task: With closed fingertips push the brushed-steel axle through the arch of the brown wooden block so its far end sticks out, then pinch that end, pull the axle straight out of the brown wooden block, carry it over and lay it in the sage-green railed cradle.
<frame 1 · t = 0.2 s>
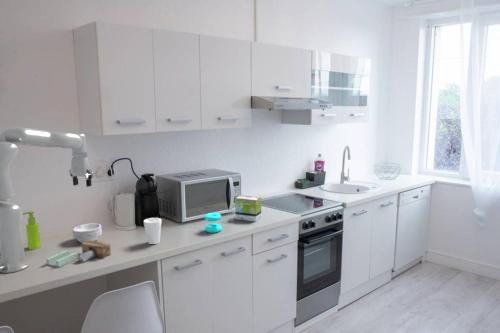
hand: (82, 185, 224), 31 cm above the worktop, fingers open, 9 cm apart
axle: (92, 257, 201), on the worktop
soap dispenser: (33, 248, 215), on the worktop
donuts: (213, 231, 239), on the worktop
cradle: (63, 261, 195), on the worktop
brown wooden block: (96, 254, 203), on the worktop
foam cup: (153, 243, 219), on the worktop
tea box: (248, 219, 262), on the worktop
paper bowls: (88, 240, 225), on the worktop
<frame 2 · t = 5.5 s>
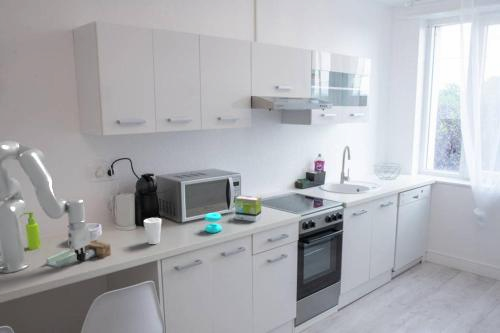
hand: (80, 260, 194), 1 cm above the worktop, fingers closed
axle: (94, 255, 202), on the worktop, touching gripper
everything else where it was.
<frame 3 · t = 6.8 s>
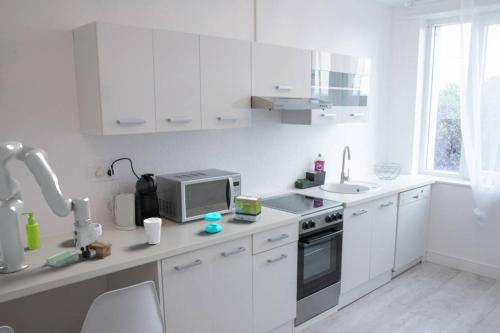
hand: (86, 257, 197), 1 cm above the worktop, fingers closed
axle: (99, 253, 205), on the worktop
everything else where it was.
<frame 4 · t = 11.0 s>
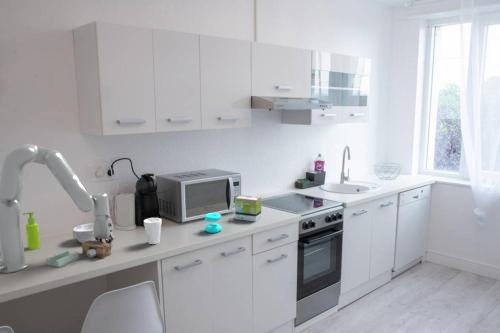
hand: (104, 250, 208), 0 cm above the worktop, fingers closed on axle, 4 cm apart
axle: (99, 253, 206), on the worktop, tilted 8°, touching gripper
everything else where it was.
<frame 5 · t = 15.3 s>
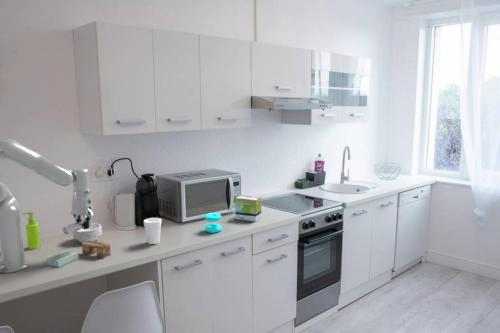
hand: (82, 227, 202), 14 cm above the worktop, fingers closed on axle, 4 cm apart
axle: (77, 230, 198), point 14 cm above the worktop, tilted 10°, touching gripper
everything else where it was.
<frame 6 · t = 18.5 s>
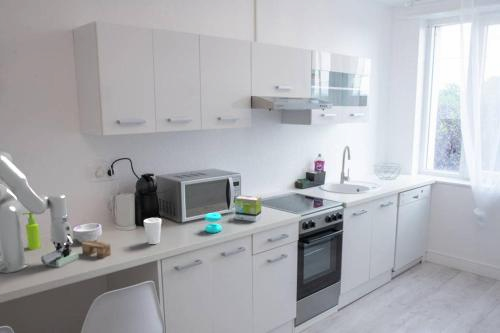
hand: (63, 255, 195), 3 cm above the worktop, fingers closed on axle, cradle, 4 cm apart
axle: (56, 258, 192), point 3 cm above the worktop, tilted 8°, touching gripper
everything else where it was.
when the fingers open (3 cm above the worktop, at t = 19.6 s): axle drops 2 cm, resting on cradle.
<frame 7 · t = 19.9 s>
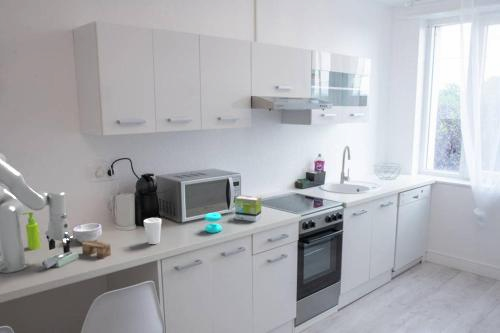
hand: (59, 250, 194), 6 cm above the worktop, fingers open, 9 cm apart
axle: (57, 262, 192), point 1 cm above the worktop, tilted 14°, touching cradle
everything else where it was.
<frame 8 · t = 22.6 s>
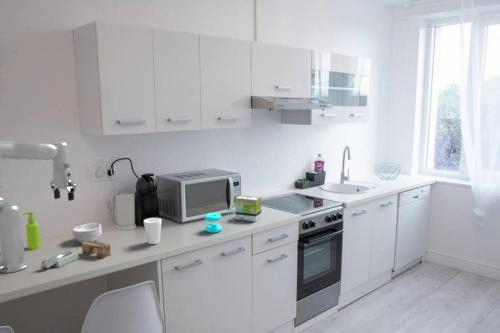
hand: (64, 199, 204), 28 cm above the worktop, fingers open, 9 cm apart
axle: (57, 262, 192), point 1 cm above the worktop, tilted 8°, touching cradle
everything else where it was.
at the end: axle inside the target area on the cradle (3.3 cm from its centre), point 0.6 cm above the cradle's base; the gripper is holding nothing; axle touching cradle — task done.
